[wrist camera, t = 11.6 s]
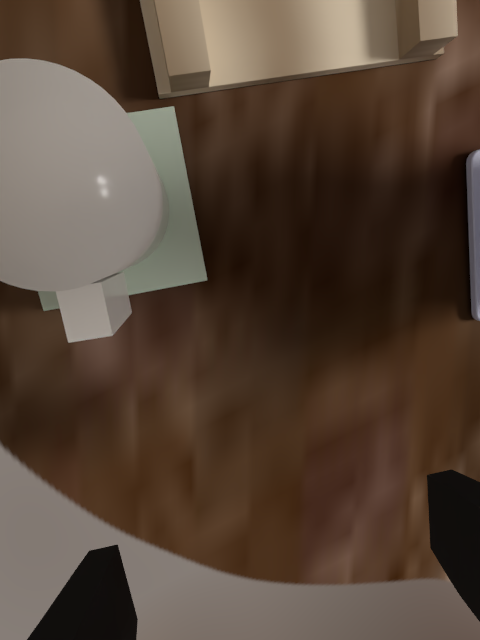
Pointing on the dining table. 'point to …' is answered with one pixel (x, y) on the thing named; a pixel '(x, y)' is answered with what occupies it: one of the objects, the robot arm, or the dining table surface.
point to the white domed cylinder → (74, 194)
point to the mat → (182, 233)
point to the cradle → (287, 39)
